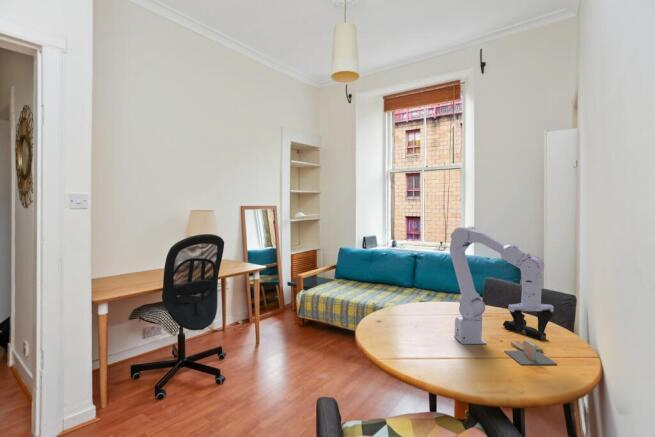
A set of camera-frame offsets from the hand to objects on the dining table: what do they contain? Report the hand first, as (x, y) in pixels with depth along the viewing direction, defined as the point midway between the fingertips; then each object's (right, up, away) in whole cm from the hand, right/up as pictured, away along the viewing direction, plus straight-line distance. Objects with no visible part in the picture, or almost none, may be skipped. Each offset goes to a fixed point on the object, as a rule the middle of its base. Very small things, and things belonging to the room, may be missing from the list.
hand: (530, 331), depth 115 cm
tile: (0, -9, 0) cm, 9 cm away
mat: (0, -9, 0) cm, 9 cm away
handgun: (+14, -9, +25) cm, 30 cm away
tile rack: (+4, -9, +8) cm, 13 cm away
